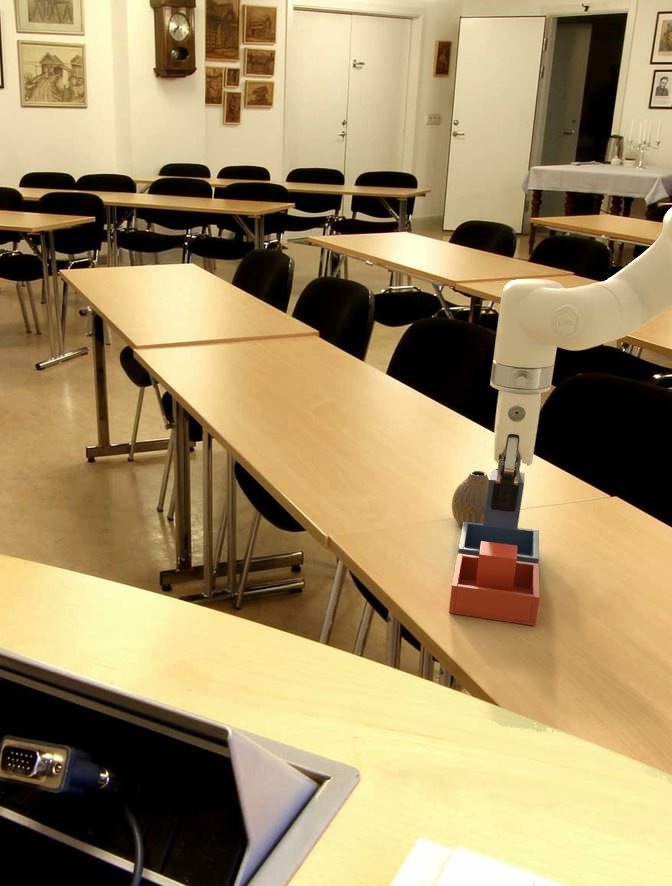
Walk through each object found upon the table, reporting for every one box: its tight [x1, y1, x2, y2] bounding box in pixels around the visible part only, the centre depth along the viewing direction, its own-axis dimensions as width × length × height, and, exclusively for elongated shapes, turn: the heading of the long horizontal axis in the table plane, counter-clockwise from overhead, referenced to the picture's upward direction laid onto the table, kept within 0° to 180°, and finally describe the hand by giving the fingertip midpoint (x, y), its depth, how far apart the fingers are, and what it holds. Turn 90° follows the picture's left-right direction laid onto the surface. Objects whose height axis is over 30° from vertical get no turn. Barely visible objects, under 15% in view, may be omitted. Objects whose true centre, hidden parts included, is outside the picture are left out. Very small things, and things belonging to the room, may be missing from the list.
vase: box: [451, 470, 489, 528], centre depth 143 cm, size 7×7×9 cm
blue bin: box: [457, 522, 540, 564], centre depth 130 cm, size 10×10×4 cm
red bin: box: [448, 553, 540, 627], centre depth 120 cm, size 10×10×4 cm
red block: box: [475, 541, 517, 592], centre depth 119 cm, size 4×4×7 cm
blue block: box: [483, 468, 525, 530], centre depth 127 cm, size 4×4×7 cm
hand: (503, 501), depth 127 cm, fingers closed on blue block, 4 cm apart
